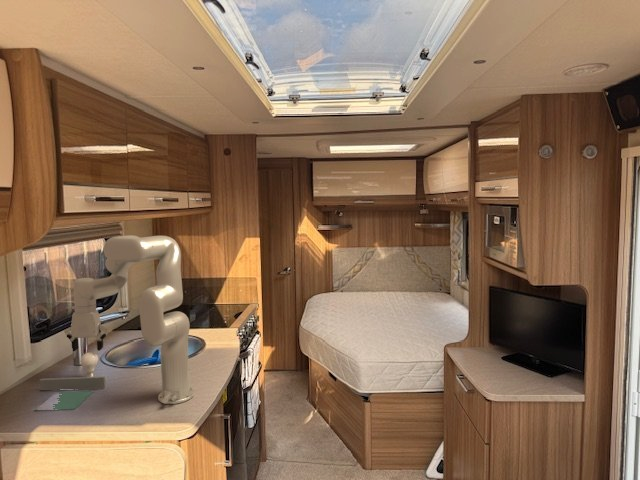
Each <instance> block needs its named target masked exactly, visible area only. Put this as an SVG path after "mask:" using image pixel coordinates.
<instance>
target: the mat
mask: <svg viewBox="0 0 640 480" xmlns="http://www.w3.org/2000/svg"><path fill="white" fill-rule="evenodd" d="M60 392H61V393H59V394H62V395H59V397H60V398H57V399H59V400H58V401H60V402H58V404H53V405H55V406H53V407H55V408H53V409H54V410H55V409H58V410H57V411H73V410H76V409H77V408H78V407H79V406H80V405H82V404H83V402H85V401H86V399H88V398H89V397H90V396H91V395H92V394H93V393H94V390H85V391H84V390H77V391H60ZM59 409H60V410H59ZM33 410H38V409H35V408H34V409H33Z"/></svg>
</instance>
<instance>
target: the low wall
mask: <svg viewBox="0 0 640 480" xmlns="http://www.w3.org/2000/svg"><path fill="white" fill-rule="evenodd" d="M38 383H39V391H40V390H60V389H74V390H73V391H76V390H75V389H82V390H81V391H84V390H83V389H86V390H85V391H88V390H105V389H106V387H107V386H106V384H107V383H106V376H94V377H87V376H80V377H79V376H75V377H55V378H54V377H53V378H52V377H51V378H49V377H48V378H40V379H39V382H38Z"/></svg>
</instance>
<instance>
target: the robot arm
mask: <svg viewBox="0 0 640 480" xmlns="http://www.w3.org/2000/svg"><path fill="white" fill-rule="evenodd" d="M102 251H103V254H104V256H105V257H106V260H105V262H104V265H105V268H106V270H107V271H108V272H109V273H111V275H110V276H108V277H104V278H103V277H102V278H97V279H94V278H93V277H81V278H77V279H75V280H74V281H73V297H74V298H73V300H74V305H72V306H71V310H74V312H73V313H72V317H71V325H70V326H69V327H68V328H67V329H64V331H63V333H65V335H66V338H67V339H69V341H70V342H71V349H72V352H76V351H77V350H78V349H79V339H80V338H81V339H82V338H84V339H85V338H87V339H89V338H95V339H96V340H97V341H96V349H97V351H98V352H99V351H101V350H102V349H103V348H104V339H105V338H106V337H107V336H108V333H109V332H110V329H109V328H108V327H106V326H103V325H102V323H101V318H100V314H99V311H98V310H97V300H98V299H103V298H106V297H107V298H108V297H111V296H114V295H117V294H118V293H119V292H120V291H121V290H122V289H123V288H124V286H125V285H127V283H128V281H129V280H128V278H129V269H130V268H131V267H132V266H133V265H134V264H135V263H144V262H149V261H155V260H159V261H158V264H157V267H156V271H155V277H156V284H155V285H154V286H151V287H148V288H147V289H145V290H143V292H142V293H141V295H140V297H139V301H138V306H139V307H138V308H139V309H138V310H139V320H140V328H141V335H142V336H141V337H142V339H143V341H144V342H145V344H147V346H150V347H158V346H160V369H161V386H162V387H161V389H162V391H161V392H160V393H159V394H158V396H157V398H158V399H157V400H158V402H160V403H162V404H165V405H176V404H182V403H184V402H187V401H189V400H190V399H192V398H193V397H194V395H195V389H194V388H192V387H190V385H191V384H190V373H189V372H190V370H189V369H190V368H189V335H190V327H191V326H190V319H189V317H188V316H187V314H186V313H184V312H182V311H171V310H173V309H176V308H178V307H180V306H181V305H182V304H183V300H184V293H183V281H182V279H183V278H182V273H181V272H182V267H181V263H182V252H181V248H180V246H179V243H178V242H177V241H176V240H175V239H174V238H172V237H170V236H168V235H152V236H144V237H143V236H142V237H139V236H137V235H135V234H134V235H132V234H131V235H129V234H128V235H120V236H119V235H117V236H111V237H110V238H108V239H107V240H106V241H105V242H104V245H103V250H102ZM167 311H170V312H168V313H165V312H167ZM102 332H103V334H102Z"/></svg>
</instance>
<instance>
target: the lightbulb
mask: <svg viewBox="0 0 640 480" xmlns="http://www.w3.org/2000/svg"><path fill="white" fill-rule="evenodd" d="M98 363H99V356H98V354H97V353H95V352H94V351H88V352H86V353H84V354H83V355H82V356H81V357H80V364H81V366H82V367H83V368H84V371H85V373H86V377H95V369H96V366H97V364H98Z"/></svg>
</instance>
